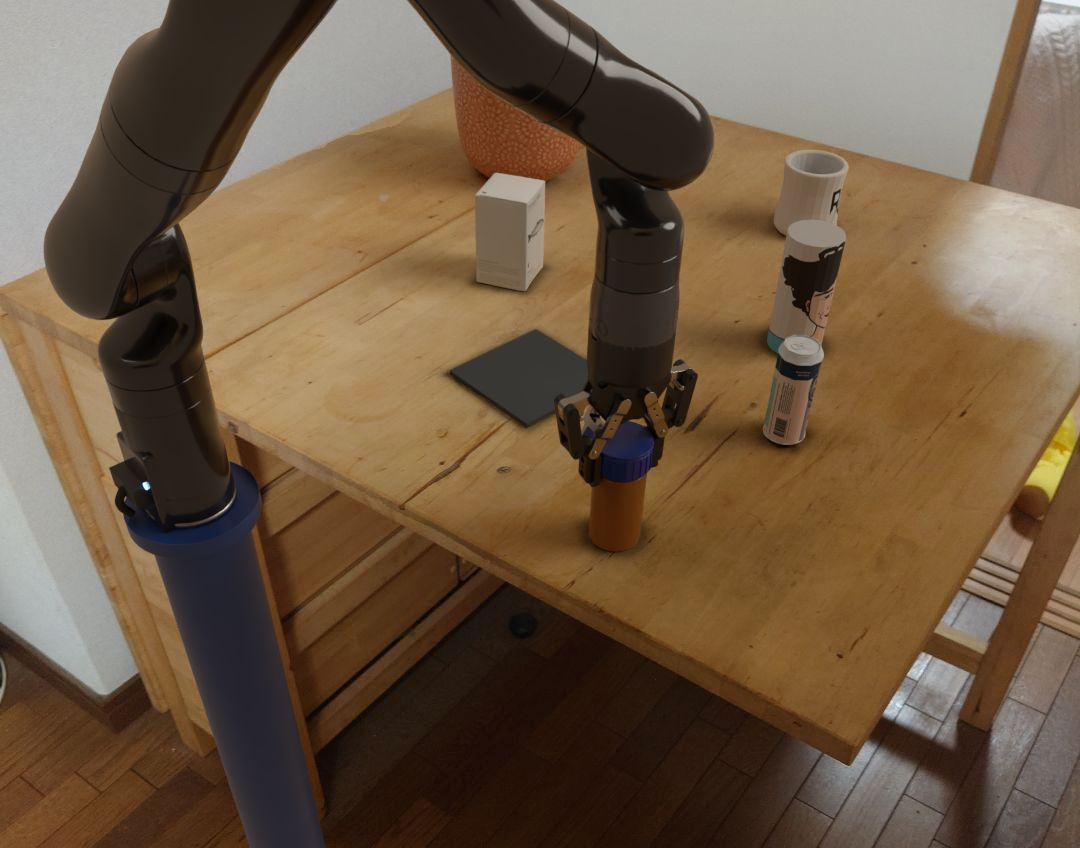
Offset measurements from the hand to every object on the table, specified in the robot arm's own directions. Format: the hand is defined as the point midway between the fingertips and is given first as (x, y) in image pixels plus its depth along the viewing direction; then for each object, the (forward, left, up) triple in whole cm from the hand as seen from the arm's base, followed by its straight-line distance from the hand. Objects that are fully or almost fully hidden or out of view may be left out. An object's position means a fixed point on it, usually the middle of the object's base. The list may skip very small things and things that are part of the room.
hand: (619, 471), depth 102 cm
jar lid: (0, 0, +4) cm, 4 cm away
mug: (+69, +29, -8) cm, 75 cm away
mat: (+12, +26, -8) cm, 30 cm away
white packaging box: (+26, +46, -8) cm, 54 cm away
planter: (+49, +70, -8) cm, 86 cm away
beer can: (+26, -1, -8) cm, 27 cm away
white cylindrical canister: (+42, +10, -8) cm, 44 cm away
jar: (0, 0, -8) cm, 8 cm away
